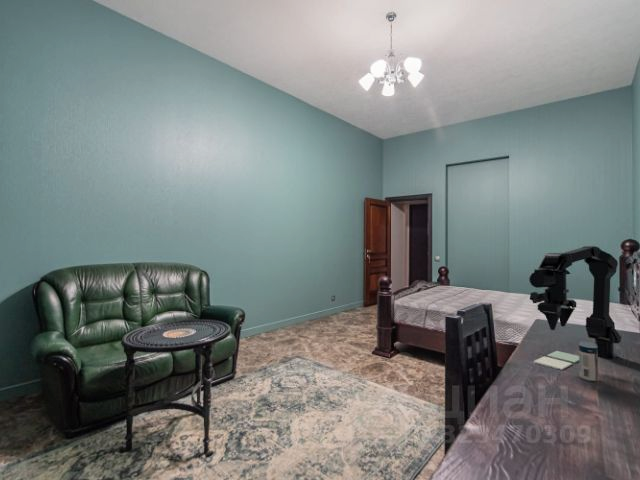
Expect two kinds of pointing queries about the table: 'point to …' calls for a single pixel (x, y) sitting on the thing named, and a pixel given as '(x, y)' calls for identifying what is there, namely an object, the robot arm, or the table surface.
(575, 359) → the sage coaster
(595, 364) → the cream labeled canister
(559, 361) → the cream coaster
